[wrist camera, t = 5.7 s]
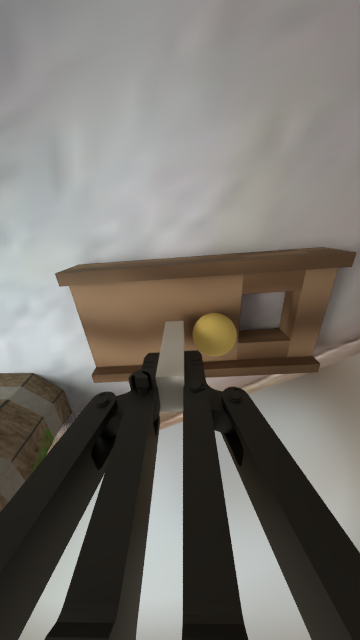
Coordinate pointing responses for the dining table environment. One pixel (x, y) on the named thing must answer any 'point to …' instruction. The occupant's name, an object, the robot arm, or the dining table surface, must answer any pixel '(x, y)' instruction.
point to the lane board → (204, 308)
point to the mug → (26, 427)
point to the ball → (214, 334)
